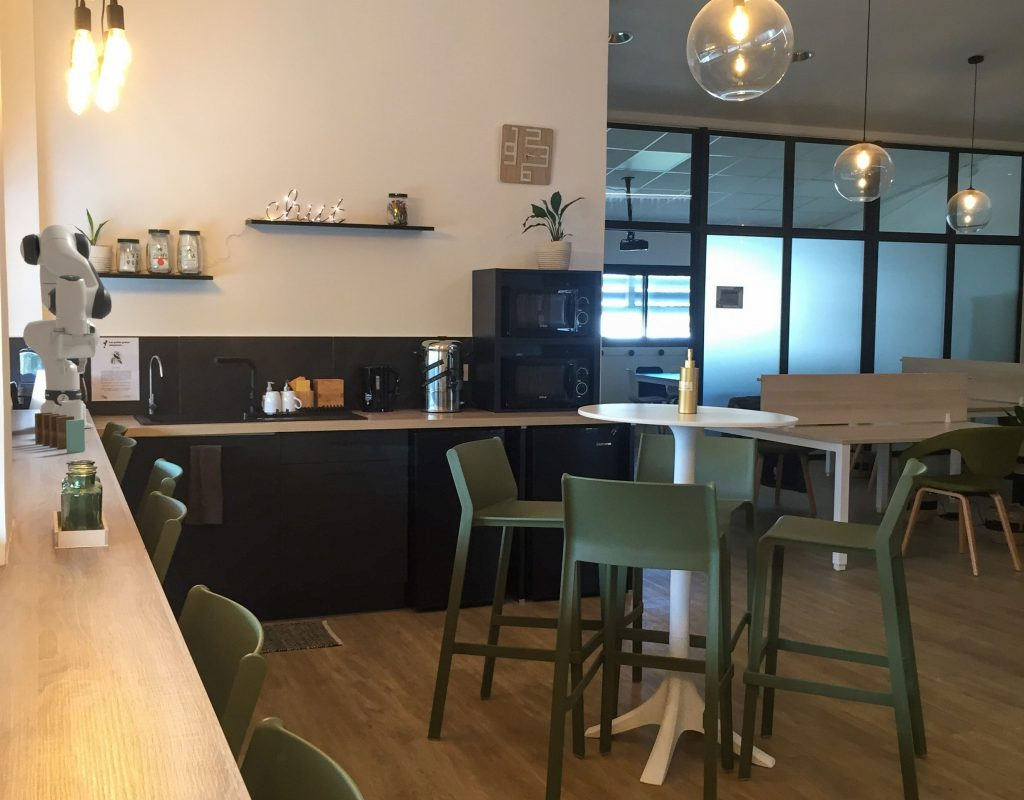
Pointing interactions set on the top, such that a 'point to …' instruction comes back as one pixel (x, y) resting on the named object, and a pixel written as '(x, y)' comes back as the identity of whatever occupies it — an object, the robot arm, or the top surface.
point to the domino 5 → (75, 436)
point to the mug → (71, 408)
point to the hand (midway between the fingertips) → (72, 373)
